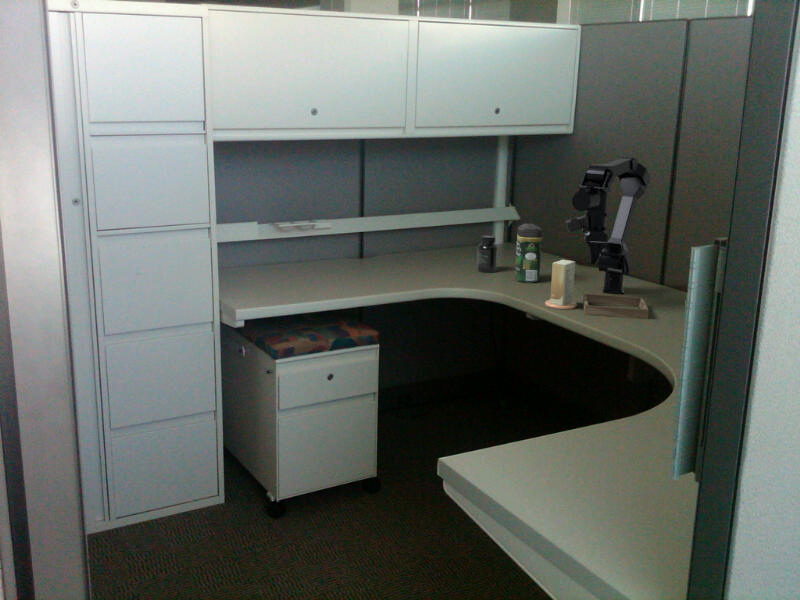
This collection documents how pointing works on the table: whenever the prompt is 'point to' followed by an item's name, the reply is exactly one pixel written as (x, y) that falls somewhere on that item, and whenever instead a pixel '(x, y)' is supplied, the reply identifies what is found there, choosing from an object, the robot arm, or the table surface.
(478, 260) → the supplement bottle
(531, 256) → the coffee jar
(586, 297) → the brown wooden frame
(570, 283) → the skincare box
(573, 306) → the peach flat disc
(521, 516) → the table surface
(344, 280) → the table surface
